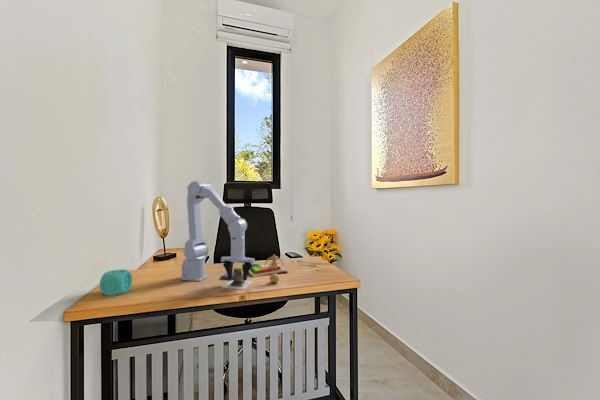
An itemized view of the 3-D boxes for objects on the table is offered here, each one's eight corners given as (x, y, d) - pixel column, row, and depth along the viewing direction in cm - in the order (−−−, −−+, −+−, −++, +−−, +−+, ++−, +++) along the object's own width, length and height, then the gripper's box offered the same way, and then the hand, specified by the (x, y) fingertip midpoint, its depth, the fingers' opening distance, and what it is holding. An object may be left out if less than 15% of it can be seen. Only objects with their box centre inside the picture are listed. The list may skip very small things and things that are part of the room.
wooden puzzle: (243, 269, 146) (243, 262, 146) (277, 265, 153) (277, 259, 153) (250, 278, 130) (250, 270, 130) (288, 273, 137) (288, 266, 137)
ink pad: (220, 279, 127) (220, 276, 127) (227, 274, 133) (227, 272, 133) (240, 280, 125) (240, 277, 125) (247, 276, 131) (247, 273, 131)
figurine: (264, 284, 119) (265, 256, 119) (264, 280, 125) (264, 253, 125) (284, 283, 121) (284, 256, 120) (283, 279, 127) (283, 253, 126)
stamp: (230, 285, 117) (230, 270, 117) (234, 282, 121) (234, 267, 121) (240, 286, 116) (240, 270, 116) (244, 282, 121) (244, 267, 121)
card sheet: (221, 287, 115) (221, 287, 115) (232, 280, 125) (232, 279, 125) (244, 289, 113) (244, 288, 113) (253, 281, 123) (253, 281, 123)
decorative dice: (112, 289, 113) (112, 269, 113) (132, 288, 113) (132, 269, 113) (99, 296, 105) (99, 275, 105) (121, 295, 105) (121, 274, 105)
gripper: (217, 248, 116) (217, 281, 116) (250, 250, 113) (250, 283, 113) (225, 245, 123) (225, 276, 123) (256, 247, 120) (256, 278, 120)
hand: (237, 279), depth 119 cm, fingers open, 6 cm apart
